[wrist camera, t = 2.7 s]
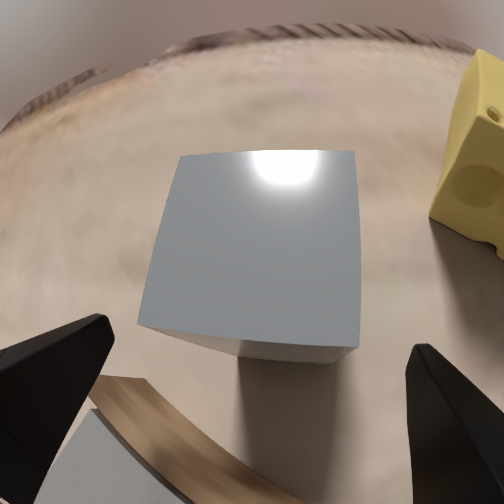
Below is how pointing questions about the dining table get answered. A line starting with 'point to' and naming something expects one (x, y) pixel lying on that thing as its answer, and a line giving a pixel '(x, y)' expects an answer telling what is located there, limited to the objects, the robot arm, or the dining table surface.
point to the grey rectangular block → (260, 256)
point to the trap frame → (180, 446)
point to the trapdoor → (104, 471)
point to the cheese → (475, 156)
